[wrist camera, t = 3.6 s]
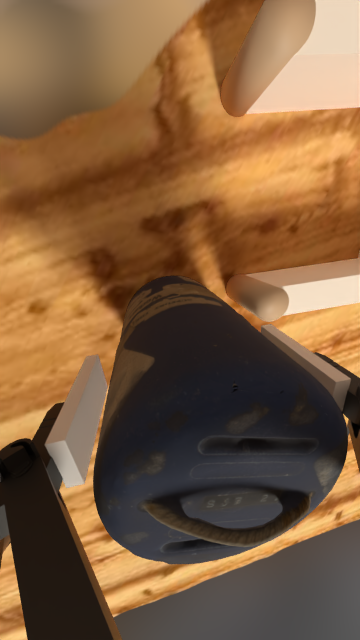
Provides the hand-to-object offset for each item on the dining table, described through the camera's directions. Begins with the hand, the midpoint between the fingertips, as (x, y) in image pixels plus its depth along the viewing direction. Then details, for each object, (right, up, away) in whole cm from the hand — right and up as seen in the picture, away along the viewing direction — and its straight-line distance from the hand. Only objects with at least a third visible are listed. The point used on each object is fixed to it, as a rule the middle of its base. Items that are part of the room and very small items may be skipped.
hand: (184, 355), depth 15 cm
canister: (-1, +3, +7) cm, 8 cm away
